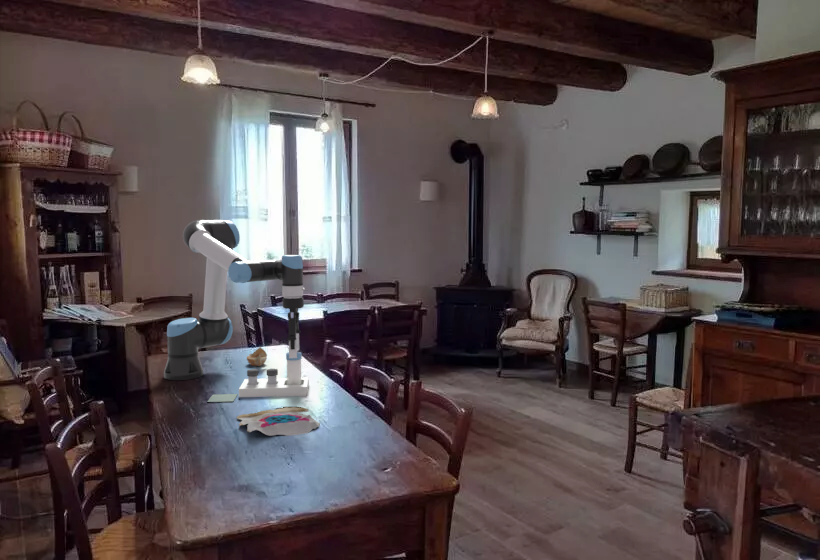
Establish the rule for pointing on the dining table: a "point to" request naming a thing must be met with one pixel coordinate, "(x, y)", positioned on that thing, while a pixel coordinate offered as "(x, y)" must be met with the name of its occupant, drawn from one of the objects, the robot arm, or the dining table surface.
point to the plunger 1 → (252, 376)
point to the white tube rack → (273, 388)
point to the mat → (223, 398)
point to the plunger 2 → (272, 376)
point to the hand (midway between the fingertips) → (294, 354)
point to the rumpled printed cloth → (280, 421)
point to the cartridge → (294, 369)
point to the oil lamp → (257, 357)
